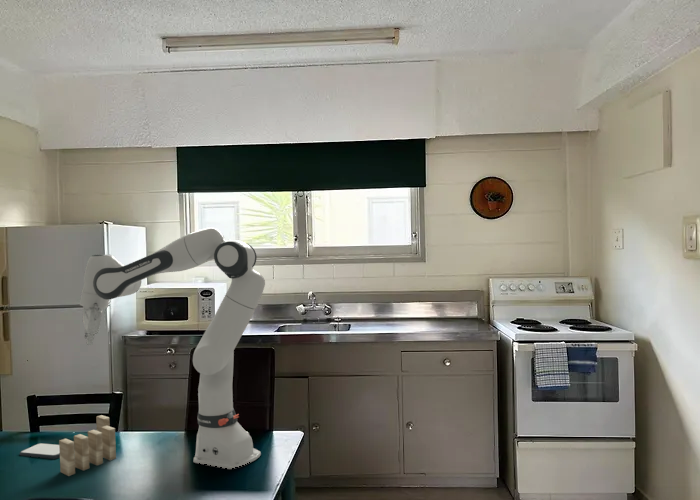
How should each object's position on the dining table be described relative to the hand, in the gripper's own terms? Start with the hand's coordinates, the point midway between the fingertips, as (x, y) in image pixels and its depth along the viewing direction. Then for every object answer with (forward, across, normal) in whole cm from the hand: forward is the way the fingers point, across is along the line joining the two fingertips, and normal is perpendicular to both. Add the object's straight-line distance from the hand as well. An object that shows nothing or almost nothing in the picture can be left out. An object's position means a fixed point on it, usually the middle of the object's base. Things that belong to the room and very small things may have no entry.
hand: (88, 341), depth 181 cm
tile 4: (+38, -16, +1) cm, 41 cm away
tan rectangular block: (+36, -11, -11) cm, 39 cm away
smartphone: (+41, +6, +6) cm, 42 cm away
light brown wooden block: (+36, -13, -7) cm, 39 cm away
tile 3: (+37, -14, -3) cm, 40 cm away
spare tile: (+37, +2, -11) cm, 39 cm away
